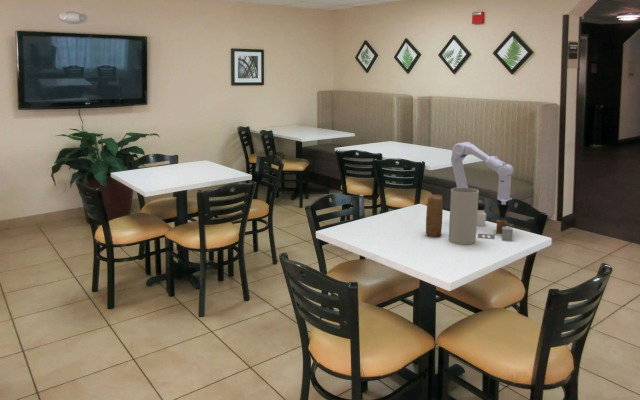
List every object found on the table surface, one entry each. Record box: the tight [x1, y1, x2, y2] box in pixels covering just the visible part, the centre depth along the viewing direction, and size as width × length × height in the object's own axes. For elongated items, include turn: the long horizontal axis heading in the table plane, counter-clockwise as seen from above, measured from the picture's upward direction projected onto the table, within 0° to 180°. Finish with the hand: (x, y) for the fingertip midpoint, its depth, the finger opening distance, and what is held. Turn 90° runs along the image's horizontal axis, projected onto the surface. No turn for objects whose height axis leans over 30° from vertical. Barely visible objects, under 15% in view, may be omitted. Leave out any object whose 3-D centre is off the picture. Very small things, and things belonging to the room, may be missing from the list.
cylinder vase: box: [448, 187, 480, 246], centre depth 253 cm, size 12×12×25 cm
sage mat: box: [492, 229, 502, 236], centre depth 268 cm, size 8×8×1 cm
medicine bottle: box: [477, 201, 487, 227], centre depth 283 cm, size 7×7×12 cm
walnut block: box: [496, 219, 508, 234], centre depth 268 cm, size 4×4×6 cm
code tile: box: [477, 233, 496, 240], centre depth 263 cm, size 8×8×1 cm
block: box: [425, 194, 444, 238], centre depth 265 cm, size 11×8×20 cm
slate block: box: [501, 226, 514, 242], centre depth 257 cm, size 4×4×6 cm
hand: (502, 215), depth 266 cm, fingers open, 7 cm apart
